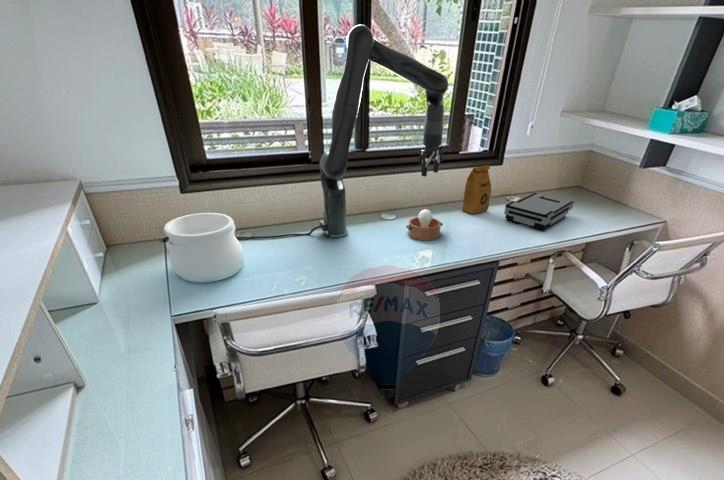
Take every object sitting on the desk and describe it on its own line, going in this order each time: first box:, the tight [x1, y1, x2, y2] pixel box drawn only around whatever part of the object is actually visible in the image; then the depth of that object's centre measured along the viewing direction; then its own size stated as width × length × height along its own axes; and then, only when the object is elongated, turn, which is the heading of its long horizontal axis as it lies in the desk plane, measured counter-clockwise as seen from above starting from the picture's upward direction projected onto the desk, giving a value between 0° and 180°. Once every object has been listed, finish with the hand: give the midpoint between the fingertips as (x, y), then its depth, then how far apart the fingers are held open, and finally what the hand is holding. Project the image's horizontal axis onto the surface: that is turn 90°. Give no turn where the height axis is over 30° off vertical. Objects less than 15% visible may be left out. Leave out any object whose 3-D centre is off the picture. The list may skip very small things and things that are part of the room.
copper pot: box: [405, 216, 444, 241], centre depth 179 cm, size 16×14×6 cm
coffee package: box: [461, 164, 492, 215], centre depth 200 cm, size 10×12×22 cm
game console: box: [503, 192, 575, 232], centre depth 197 cm, size 21×32×8 cm, turn 138°
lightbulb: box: [417, 209, 433, 228], centre depth 177 cm, size 6×6×11 cm
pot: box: [163, 212, 245, 283], centre depth 143 cm, size 26×24×18 cm
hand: (429, 174), depth 171 cm, fingers open, 8 cm apart
